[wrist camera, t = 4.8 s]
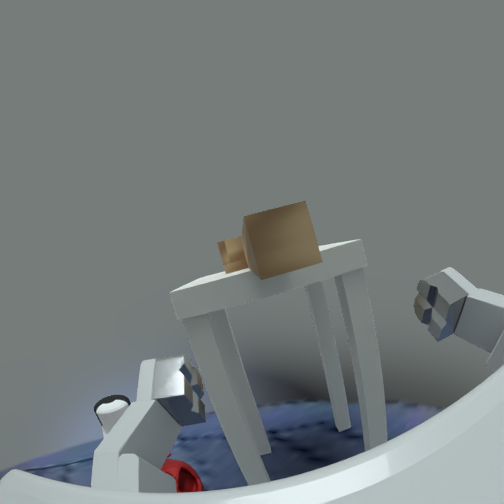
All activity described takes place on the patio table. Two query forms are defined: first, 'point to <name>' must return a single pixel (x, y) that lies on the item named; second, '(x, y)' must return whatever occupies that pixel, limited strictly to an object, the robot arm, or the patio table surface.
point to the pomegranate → (183, 476)
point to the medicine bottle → (111, 411)
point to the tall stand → (358, 331)
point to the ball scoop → (273, 243)
